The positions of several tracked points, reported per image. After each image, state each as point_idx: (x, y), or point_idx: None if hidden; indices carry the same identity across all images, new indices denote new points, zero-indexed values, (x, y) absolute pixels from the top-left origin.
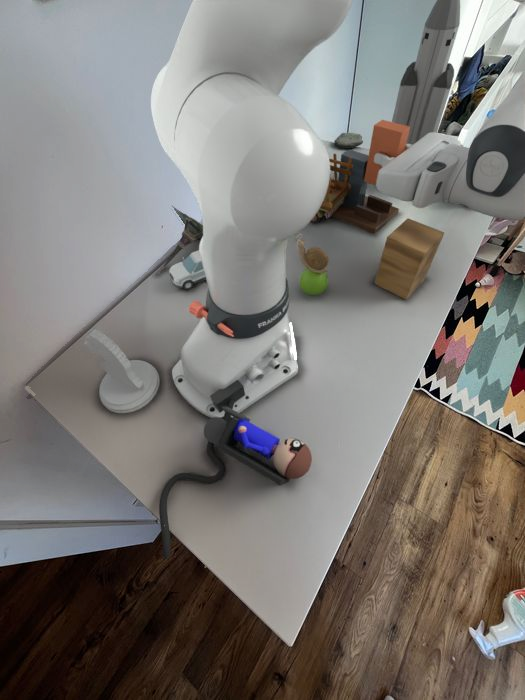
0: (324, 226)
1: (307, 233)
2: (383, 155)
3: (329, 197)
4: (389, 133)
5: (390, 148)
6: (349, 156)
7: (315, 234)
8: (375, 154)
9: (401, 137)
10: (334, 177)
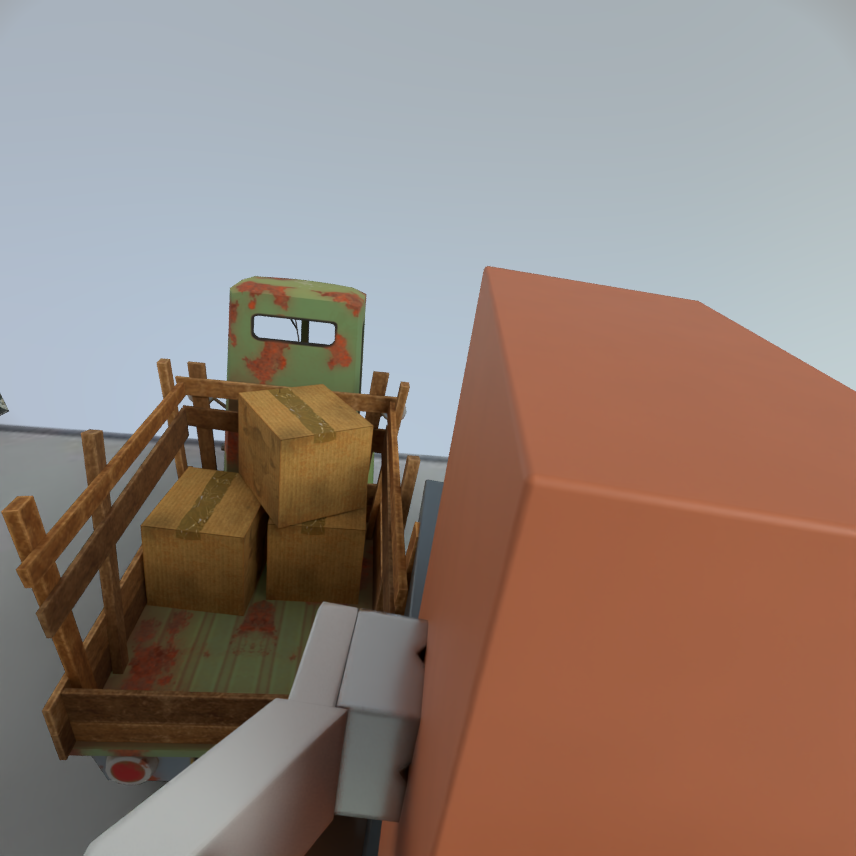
0: (129, 807)
1: (22, 746)
2: (297, 700)
3: (262, 674)
4: (480, 407)
5: (430, 694)
6: (429, 517)
7: (12, 796)
8: (324, 605)
9: (532, 638)
10: (377, 594)
